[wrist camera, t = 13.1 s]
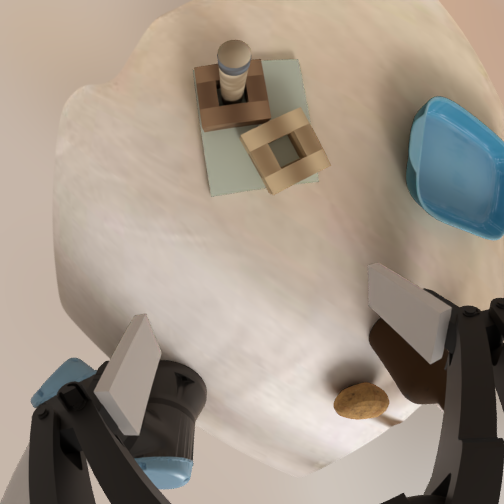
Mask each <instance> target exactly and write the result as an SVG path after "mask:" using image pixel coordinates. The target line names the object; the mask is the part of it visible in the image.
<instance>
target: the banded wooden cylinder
mask: <svg viewBox="0 0 504 504" xmlns="http://www.w3.org/2000/svg"><path fill="white" fill-rule="evenodd" d="M217 57H218V66H219V75H220V87H221V98H222V102H223V104H224V105H232V104H239V103H241V102H242V98H243V93H244V88H245V83H246V78H247V73H248V68H249V66H250V61H251V49H250V47H249V46H248V45H247V44H246V43H245V42H243V41H240V40H230V41H227V42H225V43H223V44H222V45H221V46H220V48H219V49H218V54H217Z"/></svg>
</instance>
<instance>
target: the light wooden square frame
mask: <svg viewBox="0 0 504 504" xmlns="http://www.w3.org/2000/svg"><path fill="white" fill-rule="evenodd" d="M286 135H288V137H289V139H290V141H291V143H292V145H293V146H294V148H295V150H296V152H297V154H298V156H299V159H297V160H295V161H293V162H291V163H289V164H287V165H285V166H283V167H280V165H279V163H278V161H277V159H276V158H275V156H274V154H273V152H272V150H271V148H270V147H269V145H268V144H269V143H271V142H273V141H275V140H277V139H279V138H281V137H283V136H286ZM240 141H241V143H242V144H243V146H244V148H245V150H246V152H247V153H248V155H249V157H250V159H251V161H252V162H253V164H254V166H255V168H256V170H257V171H258V173H259V175H260V177H261V179H262V181H263V183H264V184H265V186H266V188H267V190H268V192H269V193H270V194H272V195H275V194H277V193H279V192H281V191H282V190H284V189H286V188H288V187H290V186H292V185H294V184H296V183H298V182H300V181H302V180H304V179H306V178H308V177H309V176H311V175H313V174H315V173H317V172H319V171H321V170H323V169H325V168H327V167H329V166H331V164H330V162H329V160H328V158H327V156H326V154H325V152H324V150H323V148H322V146H321V144H320V142H319V140H318V138H317V136H316V134H315V132H314V130H313V128H312V127H311V125H310V123H309V121H308V119H307V117H306V116H305V114H304V112H303V110H302V108H301V107H299V108H297V109H295V110H293V111H290V112H288V113H286V114H283V115H281V116H279V117H277V118H275V119H272V120H270V121H268V122H266V123H264V124H262V125H260V126H258V127H256V128H254V129H252V130H250V131H248V132H246V133H244V134H242V135H241V136H240Z"/></svg>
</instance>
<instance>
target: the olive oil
mask: <svg viewBox="0 0 504 504" xmlns="http://www.w3.org/2000/svg"><path fill="white" fill-rule="evenodd" d="M369 342H370V345H371V347H372V348H373V350H374V351H375V353H376V354H377V355H378V357H379V358H380V360H381V361H382V363H383V364H384V366H385V367H386V369H387V370H388V372H389V373H390V375H391V376H392V378H393V380H394V381H395V383H396V384H397V386H398V388H399V389H400V391H401V393H402V394H403V395H404V397H405V398H407V399H408V400H410V401H411V402H413V403H416V404H439V405H440V407H441V408H442V410H443V411H444V407H445V397H446V383H447V369H446V370H444V369H445V365H446V361H447V358H448V354H449V351H448V350H447V349H446V348H444V351H443V355H442V358H441V359H439V360H437V361H436V362H434V363H432V364H429V363H428V362H427V361H426V360H425V359H424V358H423V357H422V356H421V355H420V354H419V353H418V352H417V351H416V350H415V349H414V348H413V347H412V346H411V345H410V344H409V343H408V342H407V341H406V340H405V339H404V338H403V337H401V336H400V335H399V334H398V333H397V332H396V331H395V330H394V329H393V328H392V327H391V326H390V325H389V324H388V323H387V322H386V321H384V320H383V319H382V318H380V319H379V320H378V321H377V322H376V324H375V325H374V326H373V328H372V330H371V333H370V336H369Z"/></svg>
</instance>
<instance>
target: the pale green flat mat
mask: <svg viewBox="0 0 504 504" xmlns="http://www.w3.org/2000/svg"><path fill="white" fill-rule="evenodd" d="M261 62H262V67H263V73H264V78H265V84H266V89H267V95H268V101H269V107H270V113H271V119H270V120H272V119H275V118H277V117H279V116H281V115H283V114H286V113H288V112H290V111H293V110H295V109H297V108H299V107H301V108H302V110H303V112H304V114H305V116H306V117H307V119H308V121H309V123H310V117H309V111H308V105H307V100H306V95H305V89H304V84H303V79H302V74H301V70H300V65H299V60H298V59H285V60H264V61H261ZM193 76H194V84H195V91H196V99H197V106H198V114H199V121H200V128H201V135H202V142H203V148H204V155H205V161H206V168H207V174H208V180H209V186H210V193H211V197H214V196H220V195H226V194H232V193H238V192H244V191H251V190H258V189H265V188H266V186H265V184H264V183H263V181H262V179H261V177H260V175H259V173H258V171H257V170H256V168H255V166H254V164H253V162H252V161H251V159H250V157H249V155H248V153H247V152H246V150H245V148H244V146H243V144H242V143H241V141H240V136H241V135H242V134H244V133H246V132H248V131H250V130H252V129H254V128H256V127H258V126H260V125H262V124H258V125H250V126H242V127H235V128H228V129H222V130H216V131H210V132H204V130H203V128H202V124H201V117H200V110H199V102H198V95H197V87H196V79H195V71H194V70H193ZM217 96H218V102H219V106H225V105H224V104H223V102H222V98H221V89H217ZM241 103H246V100H245V94H244V93H243V98H242V102H241ZM270 120H269V121H270ZM310 125H311V123H310ZM268 145H269V147H270V148H271V150H272V152H273V154H274V156H275V158H276V159H277V161H278V163H279V165H280V167H283V166H285V165H287V164H289V163H291V162H293V161H295V160H297V159H299V156H298V154H297V152H296V150H295V148H294V146H293V145H292V143H291V141H290V139H289V137H288V135H286V136H283V137H281V138H279V139H277V140H275V141H273V142H271V143H269V144H268ZM312 182H319V179H318V172H317V173H315V174H313V175H311V176H309V177H308V178H306V179H304V180H302V181H300V182H298V183H296V184H303V183H312ZM294 185H295V184H294Z"/></svg>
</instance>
